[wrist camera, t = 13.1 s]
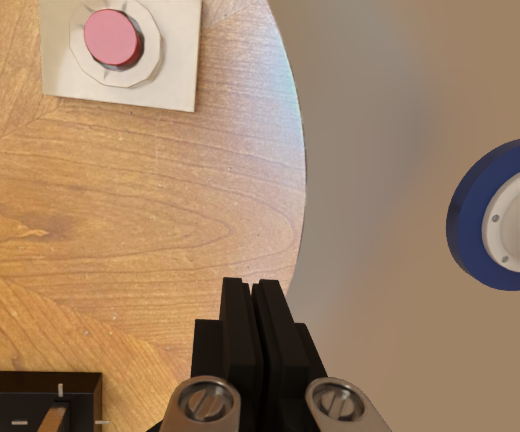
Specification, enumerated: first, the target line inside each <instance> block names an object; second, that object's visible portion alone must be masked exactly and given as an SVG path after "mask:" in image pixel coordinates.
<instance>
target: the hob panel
mask: <svg viewBox="0 0 520 432" xmlns="http://www.w3.org/2000/svg"><path fill="white" fill-rule="evenodd" d="M53 402H70V432H102V424H110V420H102V373H78V372H8V371H0V432H37V431H38V429H39V427H40V425H41V423H42V422H43V420H44V418H45V416H46V414H47V412H48V410H49V409H50V407H51V405H52V403H53Z"/></svg>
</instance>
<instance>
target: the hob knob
mask: <svg viewBox="0 0 520 432" xmlns="http://www.w3.org/2000/svg"><path fill="white" fill-rule="evenodd" d="M37 432H70V402H53V403H52V405H51V407H50V409H49V410H48V412H47V414H46V416H45V418H44V420H43V422H42V423H41V425H40V427H39V429H38V431H37Z"/></svg>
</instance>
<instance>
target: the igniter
mask: <svg viewBox="0 0 520 432" xmlns="http://www.w3.org/2000/svg"><path fill="white" fill-rule="evenodd" d="M38 4H39V29H40V54H41V78H42V94H43V95H48V96H57V97H65V98H74V99H82V100H91V101H99V102H107V103H116V104H124V105H133V106H141V107H149V108H158V109H166V110H175V111H183V112H191V113H194V112H195V111H196V97H197V82H198V67H199V52H200V37H201V22H202V8H203V0H38ZM103 9H111V10H115V11H118V12H120V13H121V14H123V15H124V16H126V17H127V18H128V19H129V20H130V21H131V22H132V24H133V25H134V26H135V27H136V29H137V30H138V32H139V35H140V38H141V50H140V54H139V56H138V58H137V59H136V60H135V61H134V62H133V63H132V64H130V65H128V66H126V67H113V66H110V65H107V64H105V63H103V62H101V61H99V60H97V59H96V58H95V57H94V56H93V55H92V54H91V53H90V52H89V50H88V48H87V46H86V44H85V40H84V27H85V24H86V22H87V20H88V18H89V17H90V16H91V15H92V14H93V13H95V12H97V11H99V10H103Z"/></svg>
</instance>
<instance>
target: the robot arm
mask: <svg viewBox="0 0 520 432" xmlns="http://www.w3.org/2000/svg"><path fill="white" fill-rule="evenodd" d="M482 240H483V244H484V247H485V249H486V251H487V253H488V255H489V256H490V257H491V258H492V260H493V261H495V262H496V263H498V264H499V265H501V266H503V267H504V268H506V269H508V270H511V271H515V272H520V173H518V174H516V175H514V176H513V177H512V178H510V179H509V180H507V181H506V182H505V183H504V184H503V185H502V186H501V187H500V188H499V189H498V190H497V192H496V193H495V194H494V196H493V197H492V199H491V201H490V202H489V204H488V206H487V208H486V211H485V214H484V217H483V222H482ZM146 432H392V431H391V429H390V428H389V426H388V425H387V424H386V422H385V421H384V419H383V418H382V417H381V415H380V414H379V413H378V411H377V410H376V408H375V407H374V406H373V404H372V403H371V401H370V400H369V399H368V397H367V396H366V395H365V394H364V393H363V392H362V391H361V390H360V389H359V388H358V387H356V386H355V385H353V384H351V383H349V382H347V381H345V380H342V379H338V378H334V377H328V376H327V373H326V371H325V368H324V366H323V364H322V361H321V359H320V357H319V355H318V352H317V350H316V347H315V345H314V343H313V340H312V338H311V336H310V333H309V331H308V329H307V326H306V325H305V324H304V323H294V321H293V318H292V315H291V313H290V310H289V307H288V305H287V302H286V299H285V297H284V294H283V291H282V289H281V286H280V283H279V281H278V280H266V279H260V281H259V284H253V286H252V293H251V294H250V289H249V284H248V283H242V278H229V277H224V278H223V285H222V295H221V305H220V315H219V320H206V319H195V330H194V342H193V354H192V366H191V378H190V379H188V380H186V381H184V382H182V383H181V384H180V385H179V386H178V387H176V389H175V390H174V392H173V394H172V396H171V398H170V401H169V404H168V407H167V410H166V413H165V415H164V418H163V420H162V421H160V422H159V423H157V424H156V425H155V426H153V427H152V428H150V429H149V430H147V431H146Z"/></svg>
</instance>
